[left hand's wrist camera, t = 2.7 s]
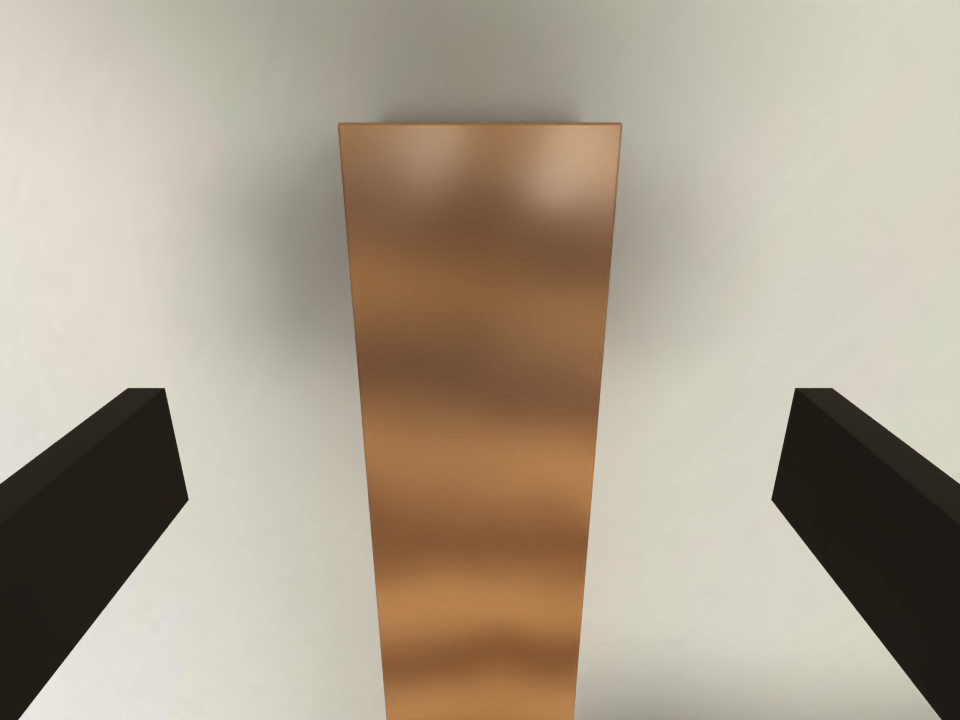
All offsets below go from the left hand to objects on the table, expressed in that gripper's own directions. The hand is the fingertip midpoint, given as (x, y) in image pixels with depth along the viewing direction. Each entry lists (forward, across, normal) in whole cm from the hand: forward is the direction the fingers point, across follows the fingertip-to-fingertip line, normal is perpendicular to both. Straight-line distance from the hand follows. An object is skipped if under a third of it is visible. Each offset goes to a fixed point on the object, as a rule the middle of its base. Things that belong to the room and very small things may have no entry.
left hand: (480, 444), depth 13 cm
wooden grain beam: (+15, 0, -21) cm, 26 cm away
